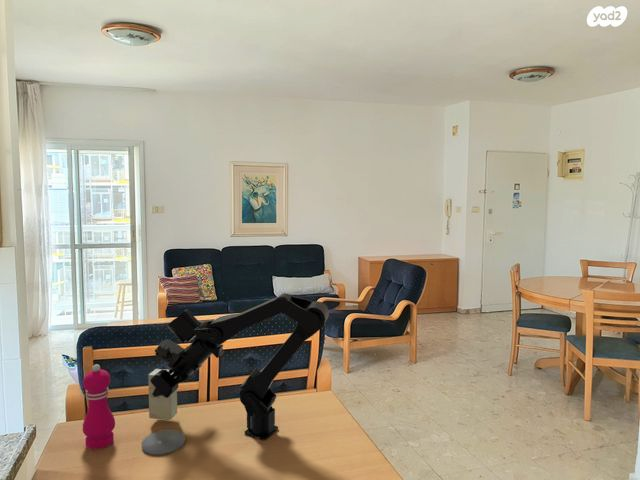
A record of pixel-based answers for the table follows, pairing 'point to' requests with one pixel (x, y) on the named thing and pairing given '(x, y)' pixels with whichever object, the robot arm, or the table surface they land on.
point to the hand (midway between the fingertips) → (158, 391)
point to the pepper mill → (98, 410)
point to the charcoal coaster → (163, 442)
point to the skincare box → (161, 402)
